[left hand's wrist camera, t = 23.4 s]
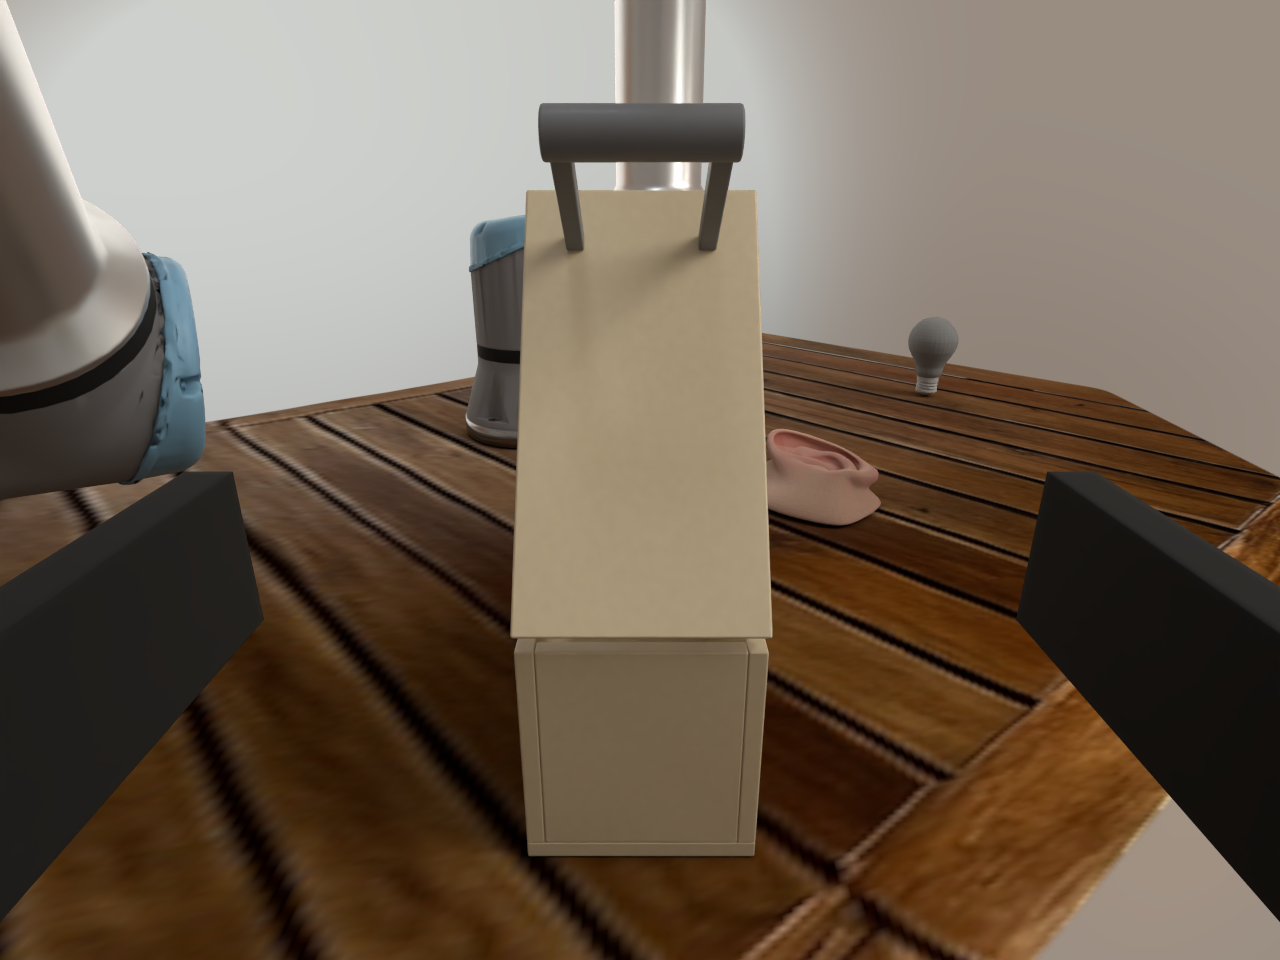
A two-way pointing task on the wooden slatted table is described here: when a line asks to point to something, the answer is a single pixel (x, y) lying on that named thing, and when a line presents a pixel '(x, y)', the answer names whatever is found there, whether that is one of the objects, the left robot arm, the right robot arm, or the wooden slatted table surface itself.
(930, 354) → the light bulb
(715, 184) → the lid
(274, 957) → the wooden slatted table surface
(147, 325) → the left robot arm
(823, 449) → the anatomical model
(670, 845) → the chest
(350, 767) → the wooden slatted table surface
